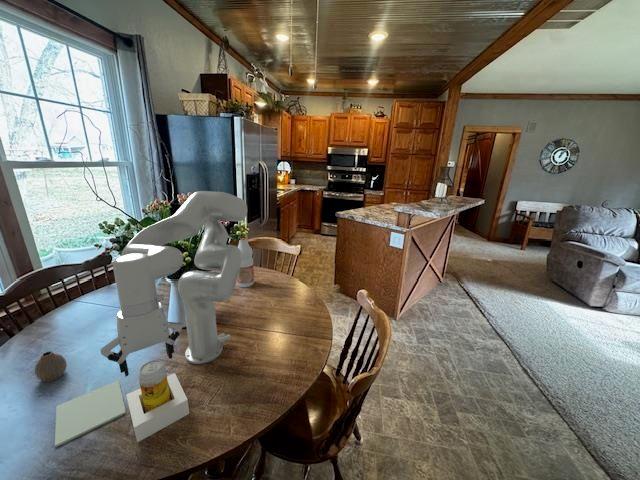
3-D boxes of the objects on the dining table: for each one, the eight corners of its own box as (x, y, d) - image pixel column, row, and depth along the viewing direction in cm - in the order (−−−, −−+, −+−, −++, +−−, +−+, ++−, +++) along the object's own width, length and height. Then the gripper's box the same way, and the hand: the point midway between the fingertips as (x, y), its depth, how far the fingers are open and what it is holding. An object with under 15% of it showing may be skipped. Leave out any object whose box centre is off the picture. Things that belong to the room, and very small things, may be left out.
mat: (119, 381, 83) (118, 380, 83) (125, 413, 73) (125, 411, 73) (56, 407, 74) (56, 405, 74) (55, 447, 64) (54, 445, 64)
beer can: (143, 423, 71) (133, 378, 66) (150, 404, 76) (142, 360, 72) (168, 418, 72) (161, 374, 68) (173, 399, 78) (167, 357, 73)
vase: (74, 368, 87) (68, 346, 85) (55, 385, 81) (47, 362, 78) (52, 368, 87) (45, 346, 84) (31, 385, 80) (23, 361, 78)
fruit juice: (233, 283, 150) (230, 235, 142) (248, 278, 156) (246, 233, 148) (242, 289, 144) (239, 240, 135) (257, 284, 150) (255, 236, 142)
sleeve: (176, 385, 82) (174, 372, 81) (189, 413, 74) (187, 399, 72) (129, 408, 75) (126, 394, 73) (137, 442, 66) (133, 427, 65)
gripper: (174, 289, 73) (180, 343, 77) (92, 309, 61) (105, 371, 66) (183, 300, 67) (189, 357, 72) (94, 324, 56) (108, 390, 61)
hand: (148, 363), depth 69 cm, fingers open, 9 cm apart
